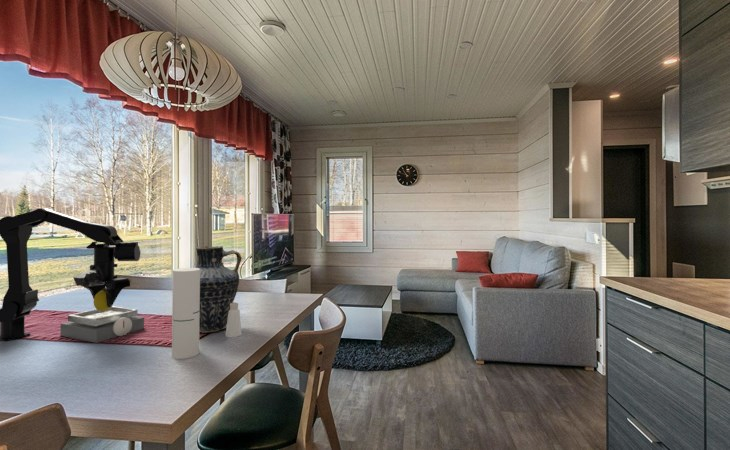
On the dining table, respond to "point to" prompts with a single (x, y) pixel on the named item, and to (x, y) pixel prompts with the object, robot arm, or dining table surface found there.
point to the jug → (216, 287)
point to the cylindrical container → (185, 312)
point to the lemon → (100, 301)
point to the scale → (102, 329)
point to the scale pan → (102, 316)
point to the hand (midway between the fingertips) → (103, 306)
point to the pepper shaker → (233, 321)
